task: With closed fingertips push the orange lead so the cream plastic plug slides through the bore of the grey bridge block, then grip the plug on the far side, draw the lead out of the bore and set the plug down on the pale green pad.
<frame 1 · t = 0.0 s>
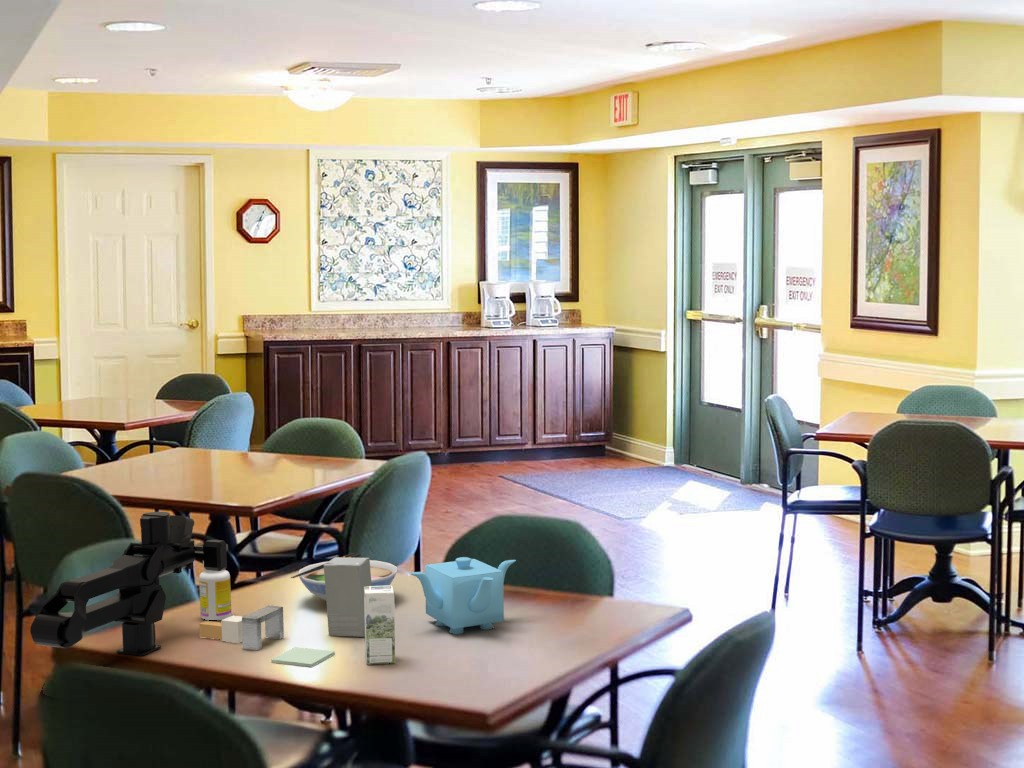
hand: (209, 545, 301), 17 cm above the table, tool horizontal, fingers open, 9 cm apart
skincare box: (350, 634, 290), on the table
syrup box: (380, 661, 271), on the table
grey bridge block: (263, 643, 284), on the table
teakettle: (466, 627, 294), on the table
plug: (235, 640, 286), on the table
ramen bowl: (348, 602, 316), on the table
pad: (303, 658, 273), on the table
supplement bottle: (216, 618, 304), on the table
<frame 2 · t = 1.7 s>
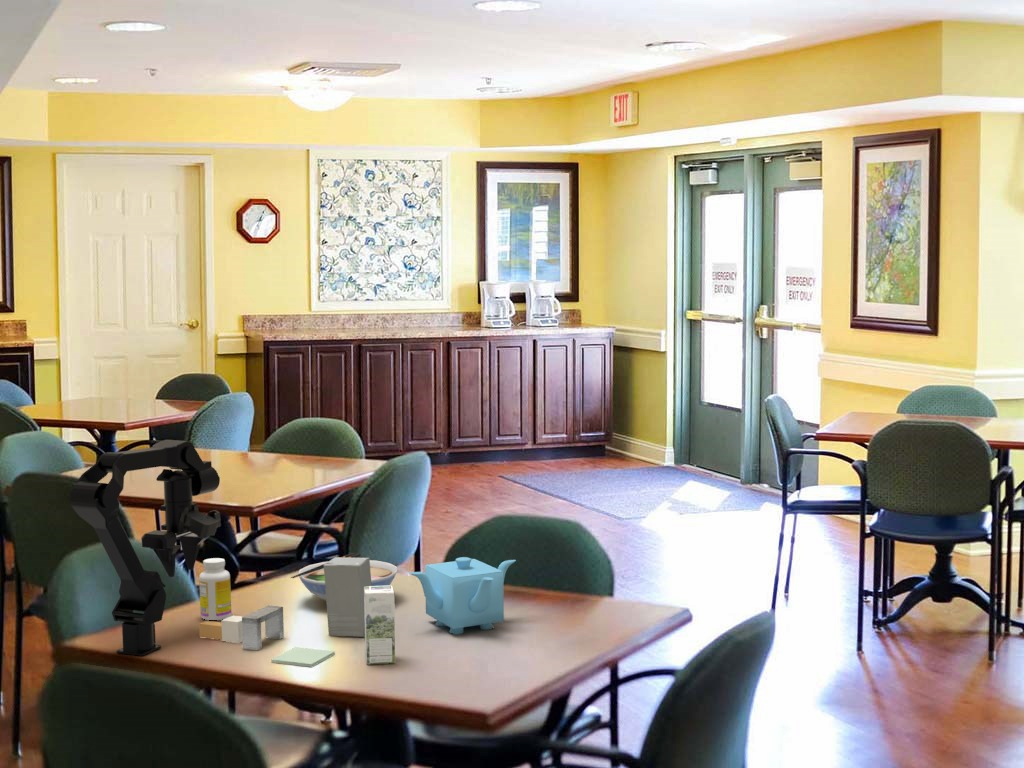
hand: (181, 573, 290), 13 cm above the table, tool pointing down, fingers open, 6 cm apart
nothing on the table moved.
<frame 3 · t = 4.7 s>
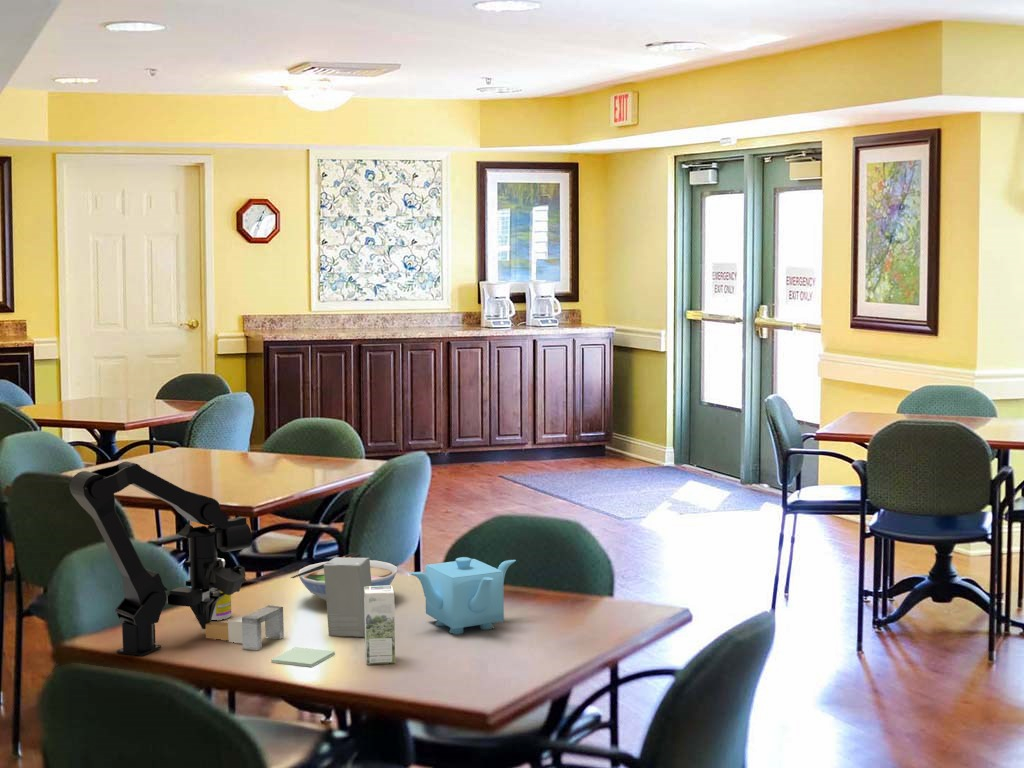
hand: (205, 628, 289), 2 cm above the table, tool pointing down, fingers closed, pressing on plug
plug: (242, 640, 286), on the table, touching gripper
everything else where it was.
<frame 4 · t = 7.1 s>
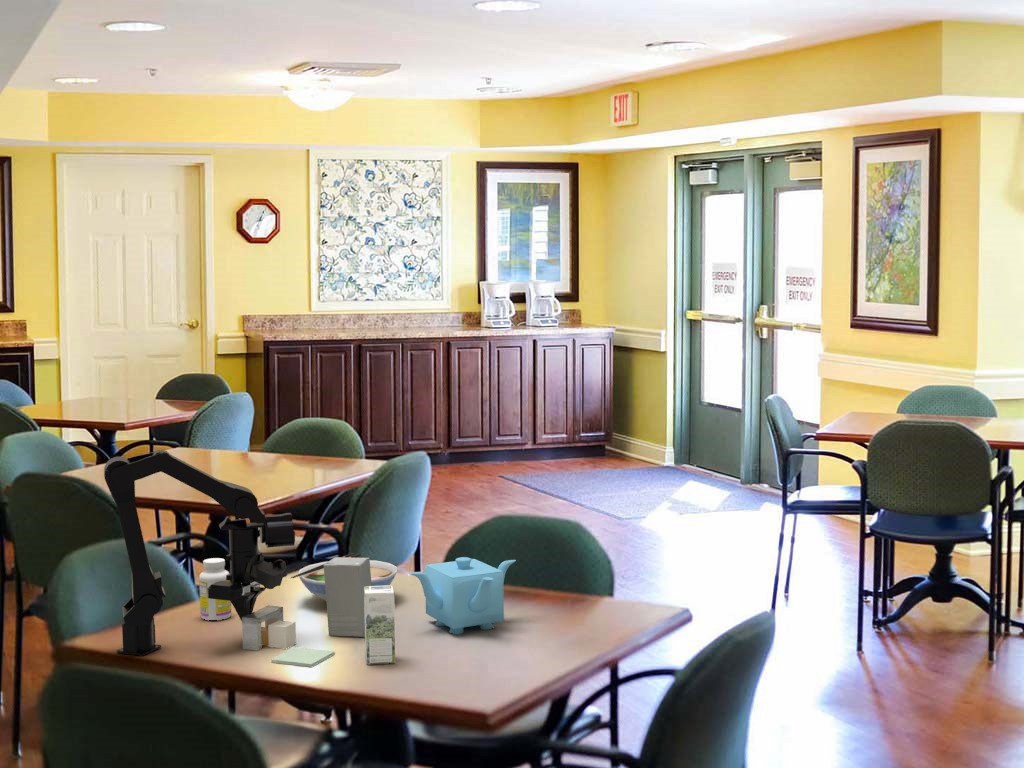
hand: (246, 623, 285), 4 cm above the table, tool pointing down, fingers closed
plug: (282, 645, 282), on the table
everything else where it was.
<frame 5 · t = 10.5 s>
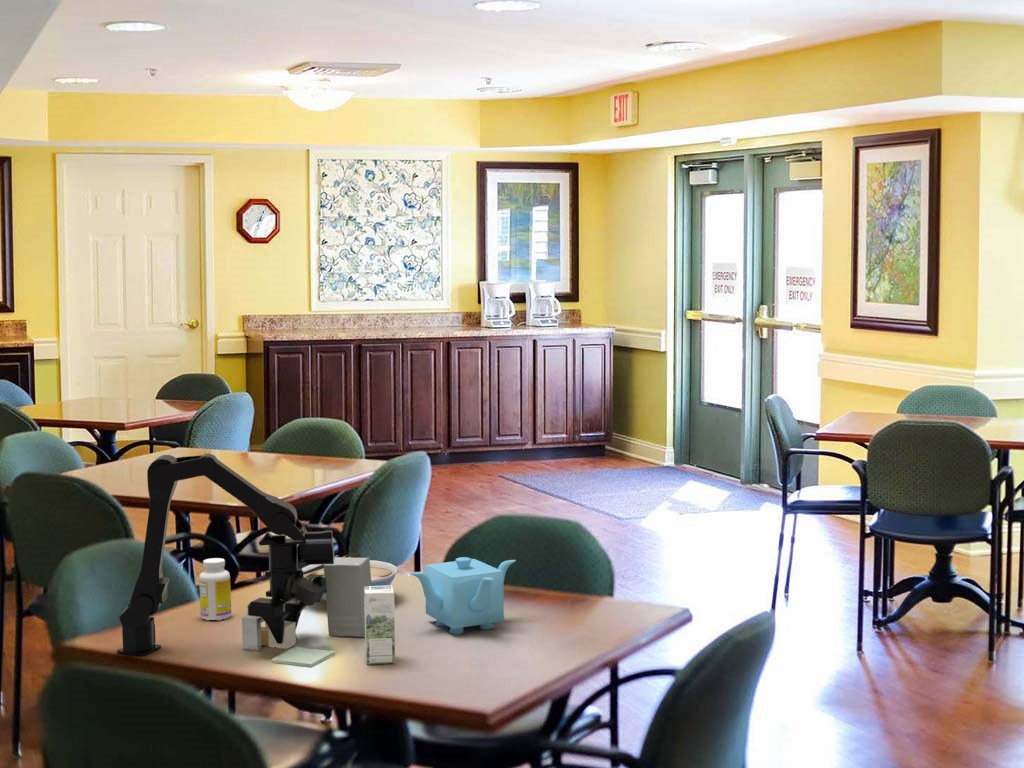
hand: (285, 640, 281), 1 cm above the table, tool pointing down, fingers closed on plug, 4 cm apart
plug: (282, 645, 282), on the table, touching gripper
everything else where it was.
when the fingers open (3 cm above the table, at t = 15.3 s): plug drops 1 cm, resting on pad.
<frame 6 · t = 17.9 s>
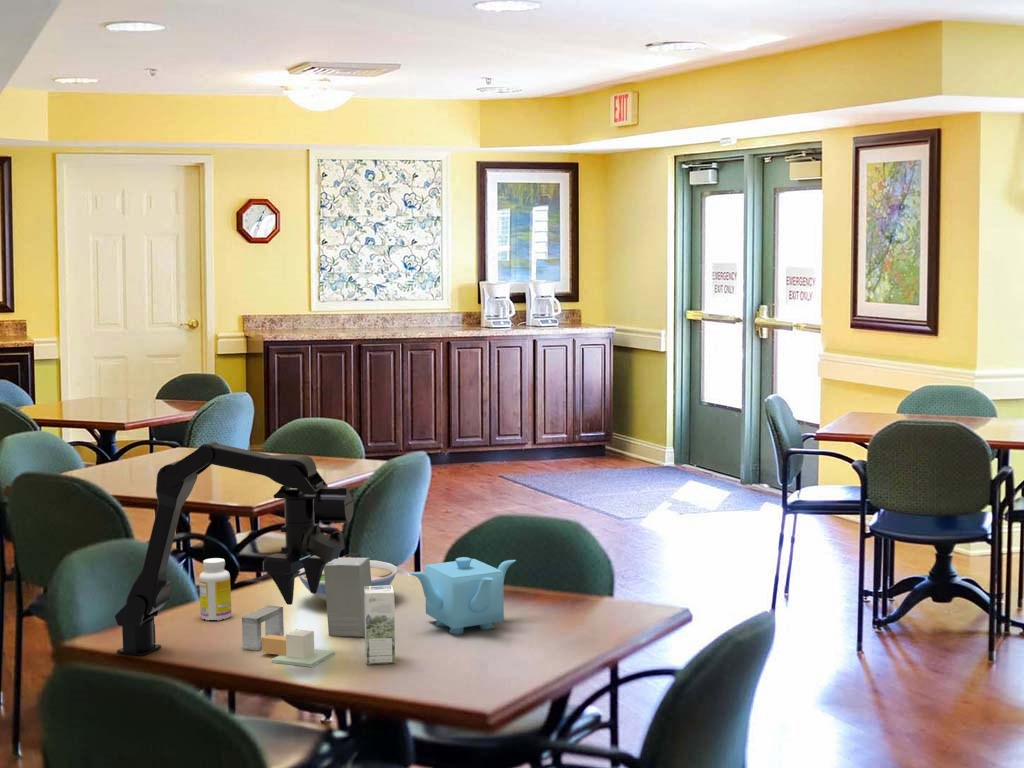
hand: (301, 598, 271), 12 cm above the table, tool pointing down, fingers open, 9 cm apart
plug: (300, 654, 273), point 1 cm above the table, touching pad
everything else where it was.
at the end: plug inside the target area on the pad (0.6 cm from its centre), point 0.6 cm above the pad's base; plug tilted 0°; plug touching pad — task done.
